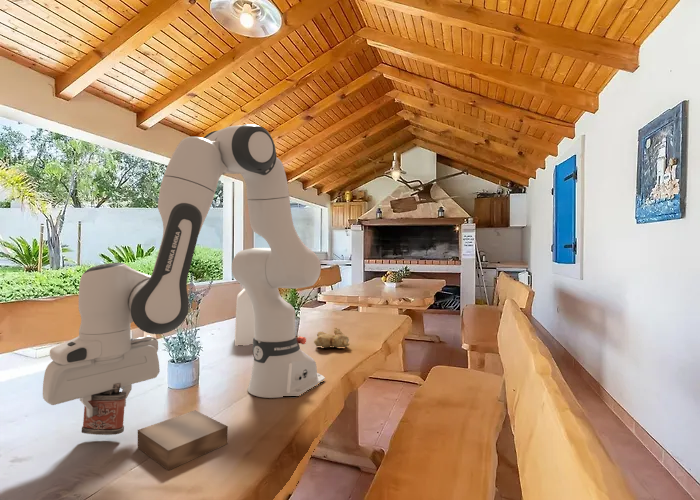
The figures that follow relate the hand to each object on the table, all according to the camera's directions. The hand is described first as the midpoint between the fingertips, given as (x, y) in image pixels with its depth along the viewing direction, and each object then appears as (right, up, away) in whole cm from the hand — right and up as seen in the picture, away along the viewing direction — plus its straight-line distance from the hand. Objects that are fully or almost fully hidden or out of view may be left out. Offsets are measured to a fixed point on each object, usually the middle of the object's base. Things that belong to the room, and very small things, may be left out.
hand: (106, 411), depth 79 cm
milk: (+8, -5, +82) cm, 83 cm away
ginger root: (+42, -6, +74) cm, 86 cm away
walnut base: (+17, -6, -2) cm, 18 cm away
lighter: (0, -4, -1) cm, 4 cm away
